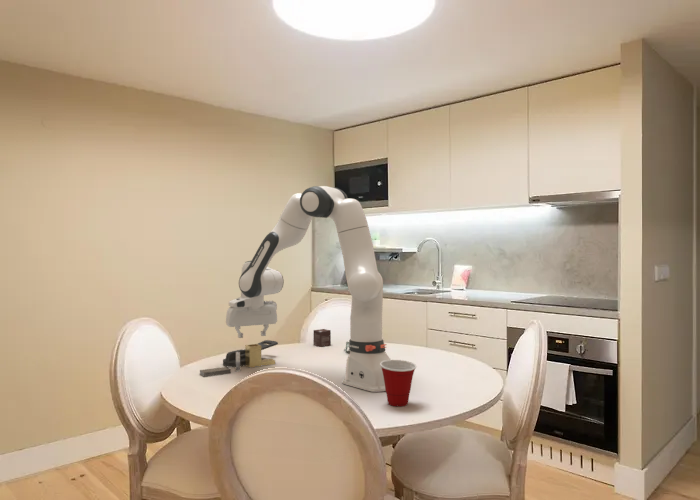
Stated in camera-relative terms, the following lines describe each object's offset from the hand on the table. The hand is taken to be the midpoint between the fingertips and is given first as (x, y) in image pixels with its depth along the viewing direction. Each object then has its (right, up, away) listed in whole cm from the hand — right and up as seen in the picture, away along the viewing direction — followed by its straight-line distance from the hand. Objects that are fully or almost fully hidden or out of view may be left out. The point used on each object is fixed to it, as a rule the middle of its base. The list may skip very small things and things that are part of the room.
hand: (251, 336), depth 207 cm
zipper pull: (-2, -12, +9) cm, 15 cm away
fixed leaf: (-9, -12, -12) cm, 19 cm away
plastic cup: (+53, -12, -51) cm, 74 cm away
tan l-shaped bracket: (+3, -11, +2) cm, 12 cm away
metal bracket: (+43, -12, +26) cm, 52 cm away
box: (+25, -11, +42) cm, 50 cm away
